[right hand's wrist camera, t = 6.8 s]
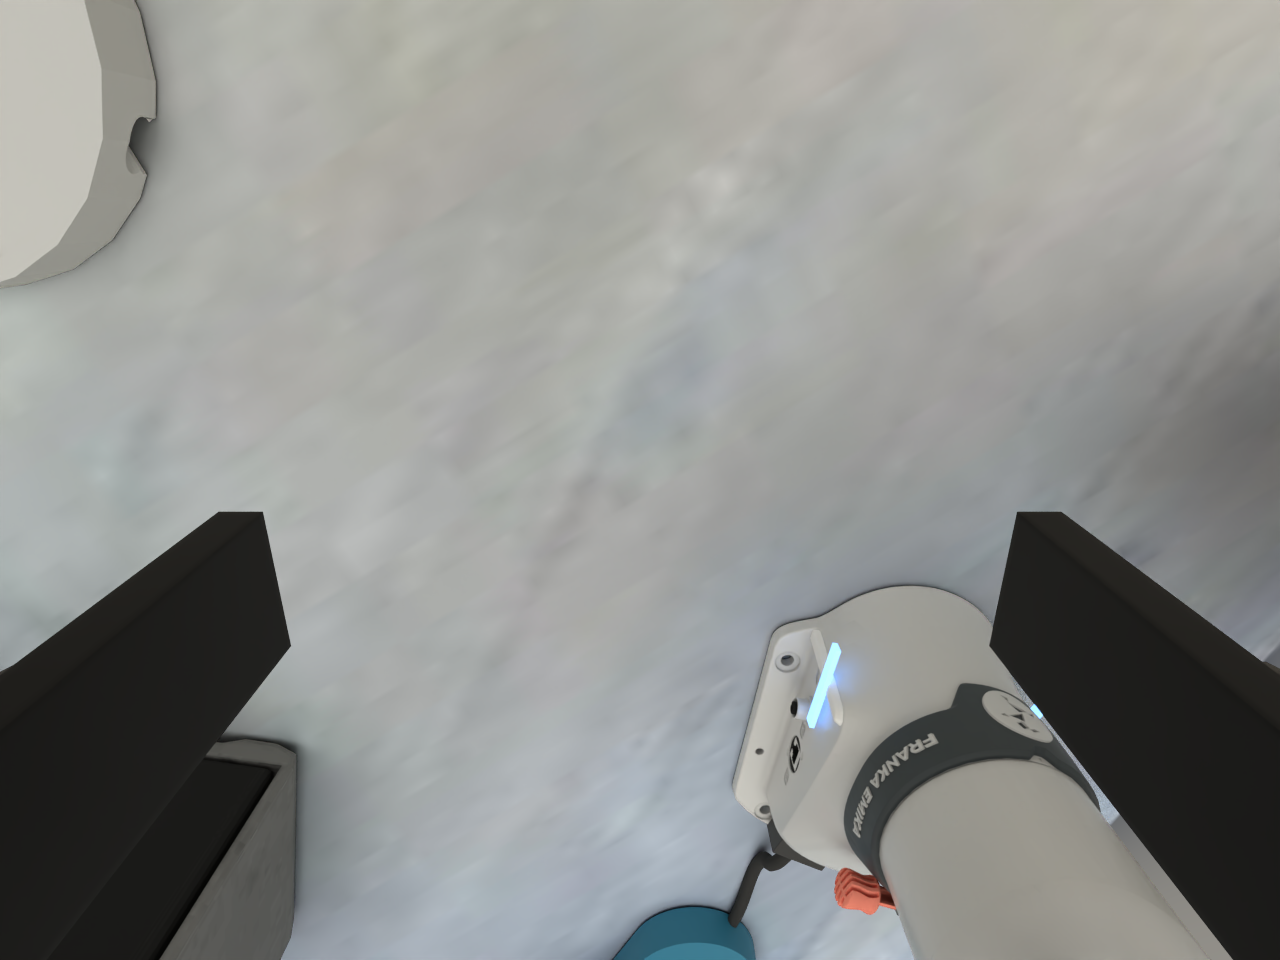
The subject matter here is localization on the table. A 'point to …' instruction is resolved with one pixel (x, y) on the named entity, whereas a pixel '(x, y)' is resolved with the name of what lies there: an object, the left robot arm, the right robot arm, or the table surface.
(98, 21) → the ashtray
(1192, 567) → the table surface
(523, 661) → the table surface
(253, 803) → the grey and black block
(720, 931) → the camera mount
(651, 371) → the table surface
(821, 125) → the table surface
